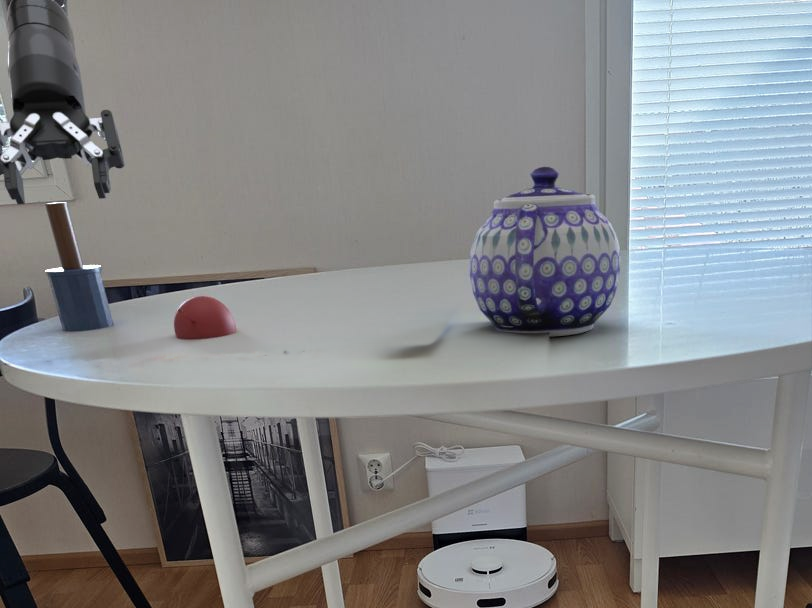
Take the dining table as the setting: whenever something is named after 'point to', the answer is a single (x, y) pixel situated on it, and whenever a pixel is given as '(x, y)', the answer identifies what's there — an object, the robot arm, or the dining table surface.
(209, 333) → the fruit
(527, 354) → the dining table surface
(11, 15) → the robot arm
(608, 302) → the teapot
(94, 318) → the tin
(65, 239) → the peg on round base
